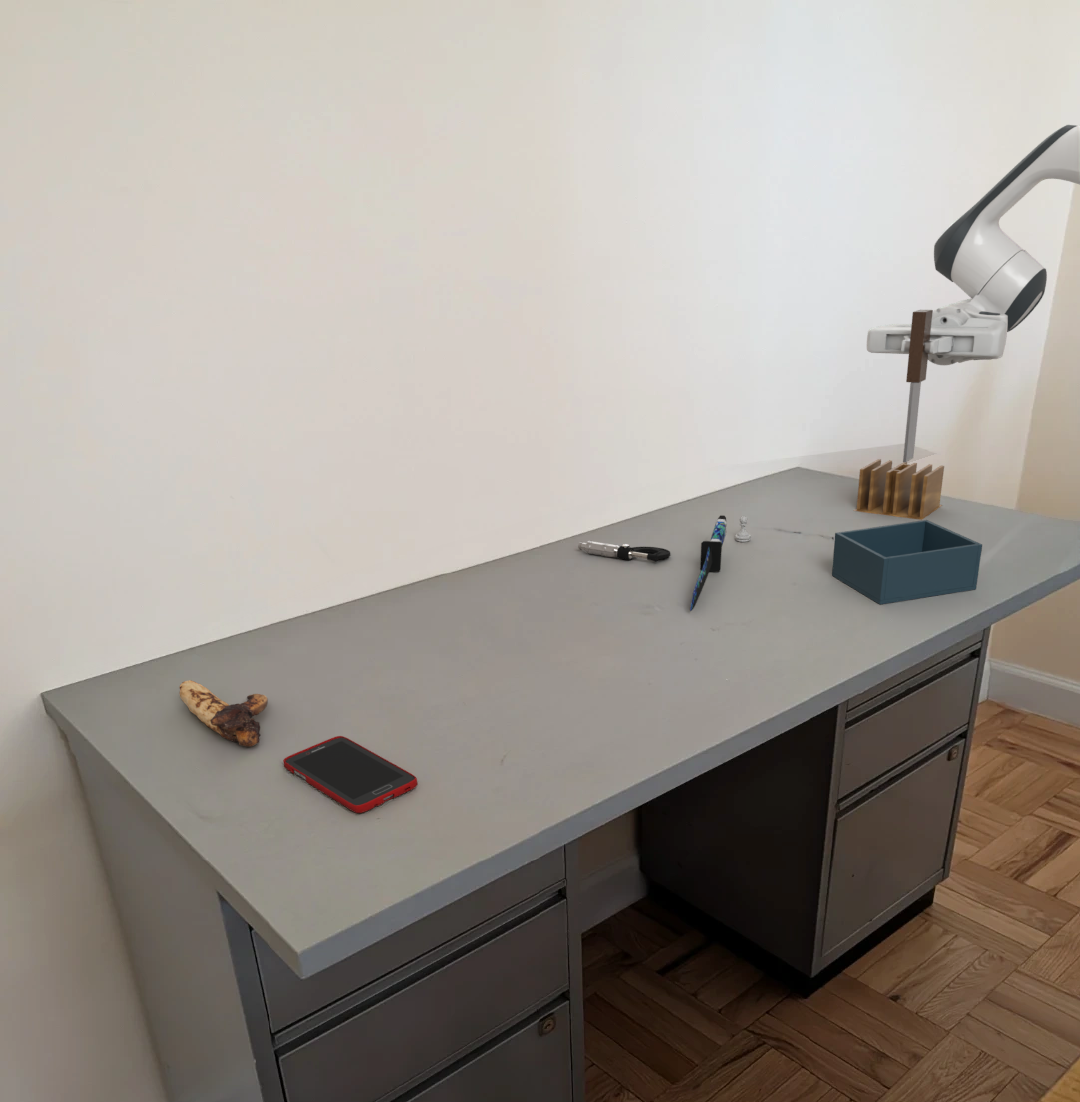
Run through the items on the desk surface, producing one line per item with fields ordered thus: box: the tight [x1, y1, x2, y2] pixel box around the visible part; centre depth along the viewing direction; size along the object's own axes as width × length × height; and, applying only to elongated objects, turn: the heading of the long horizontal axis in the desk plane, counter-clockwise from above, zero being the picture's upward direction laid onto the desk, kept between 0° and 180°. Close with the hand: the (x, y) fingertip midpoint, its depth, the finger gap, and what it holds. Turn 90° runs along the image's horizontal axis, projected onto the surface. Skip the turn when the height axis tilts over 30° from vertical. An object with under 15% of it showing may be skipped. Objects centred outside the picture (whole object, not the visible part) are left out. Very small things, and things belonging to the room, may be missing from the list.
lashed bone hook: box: [179, 679, 269, 748], centre depth 121 cm, size 9×5×18 cm
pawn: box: [734, 515, 752, 543], centre depth 172 cm, size 3×3×4 cm
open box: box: [831, 519, 983, 605], centre depth 149 cm, size 15×13×7 cm
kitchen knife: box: [902, 309, 934, 463], centre depth 158 cm, size 2×3×22 cm, turn 142°
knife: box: [689, 514, 728, 612], centre depth 156 cm, size 31×3×4 cm, turn 159°
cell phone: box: [282, 735, 418, 814], centre depth 108 cm, size 8×15×1 cm, turn 43°
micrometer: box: [577, 540, 671, 562], centre depth 169 cm, size 15×7×2 cm, turn 55°
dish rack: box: [852, 458, 945, 521], centre depth 179 cm, size 12×10×8 cm
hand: (917, 347), depth 155 cm, fingers closed on kitchen knife, 2 cm apart
